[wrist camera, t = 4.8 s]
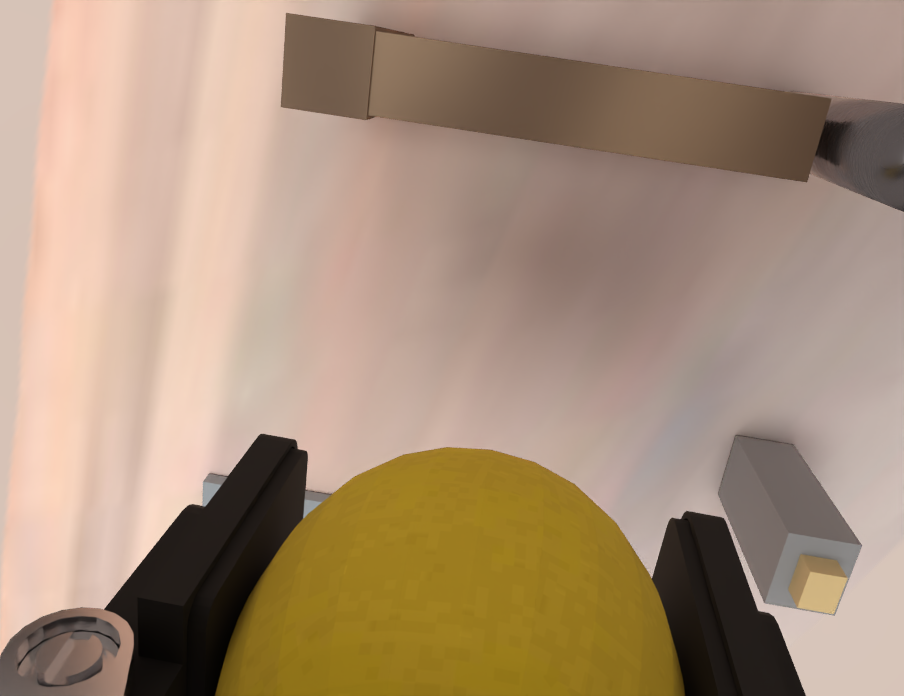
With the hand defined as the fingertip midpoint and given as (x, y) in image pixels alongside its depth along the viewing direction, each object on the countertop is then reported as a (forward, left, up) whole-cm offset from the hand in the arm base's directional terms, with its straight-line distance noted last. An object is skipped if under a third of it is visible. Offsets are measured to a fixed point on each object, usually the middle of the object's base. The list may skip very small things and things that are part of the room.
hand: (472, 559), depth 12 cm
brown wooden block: (0, -7, -14) cm, 15 cm away
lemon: (0, 0, -2) cm, 2 cm away
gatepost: (-8, -7, -15) cm, 18 cm away
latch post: (-10, +5, -15) cm, 19 cm away
